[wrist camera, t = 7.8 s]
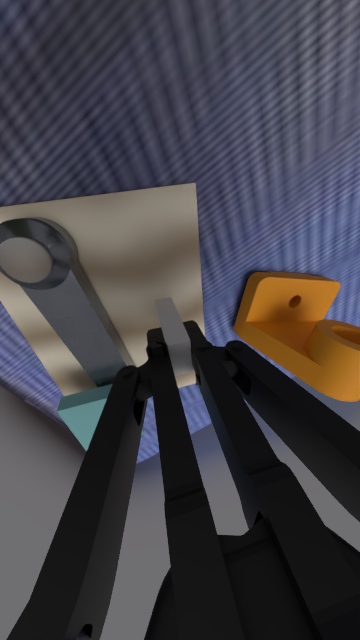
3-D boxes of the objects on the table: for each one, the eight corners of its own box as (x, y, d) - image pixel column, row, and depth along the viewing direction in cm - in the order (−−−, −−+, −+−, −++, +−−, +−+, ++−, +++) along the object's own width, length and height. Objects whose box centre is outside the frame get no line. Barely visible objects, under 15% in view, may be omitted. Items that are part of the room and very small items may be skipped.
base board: (-41, 213, 14) (-122, 216, 9) (190, 184, 16) (214, 175, 12) (79, 404, 25) (69, 447, 21) (203, 372, 28) (218, 404, 23)
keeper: (70, 371, 21) (56, 411, 17) (127, 357, 21) (127, 392, 17) (93, 410, 24) (86, 451, 20) (141, 397, 25) (143, 434, 21)
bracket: (323, 274, 24) (466, 324, 14) (298, 325, 27) (398, 394, 17) (246, 269, 21) (355, 326, 11) (230, 326, 25) (301, 409, 14)
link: (-6, 227, 13) (-32, 231, 11) (57, 208, 13) (44, 209, 11) (110, 389, 23) (108, 408, 21) (145, 376, 23) (147, 393, 21)
